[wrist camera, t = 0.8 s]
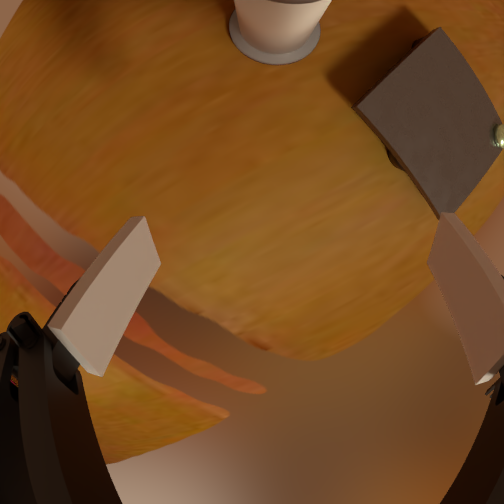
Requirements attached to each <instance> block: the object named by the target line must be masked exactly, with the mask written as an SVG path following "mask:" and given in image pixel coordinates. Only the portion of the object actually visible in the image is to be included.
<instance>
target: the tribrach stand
mask: <svg viewBox="0 0 504 504" xmlns="http://www.w3.org/2000/svg"><path fill="white" fill-rule="evenodd" d="M351 108H352V109H353V110H354V111H355V112H356V113H357V114H358V115H359V116H360V117H361V118H362V119H363V120H364V121H365V123H366V124H367V125H368V126H369V127H370V128H371V129H372V130H373V132H374V133H375V134H376V135H377V136H378V137H379V138H380V140H381V141H382V142H383V143H384V144H385V146H386V147H387V148H388V157H389V160H390V162H391V163H392V164H393V165H394V166H395V167H396V168H398V169H401V170H404V171H406V173H407V174H408V175H409V177H410V178H411V179H412V181H413V182H414V184H415V185H416V187H417V188H418V189H419V191H420V192H421V194H422V195H423V197H424V198H425V200H426V201H427V203H428V204H429V206H430V208H431V209H432V211H433V212H434V214H435V216H436V217H437V219H438V220H439V219H440V215H441V212H444V213H454V212H455V211H456V210H457V209H458V208H459V206H460V205H461V204H462V203H463V202H464V200H465V199H466V198H467V197H468V195H469V194H470V193H471V192H472V190H473V189H474V188H475V187H476V185H477V184H478V183H479V181H480V180H481V179H482V177H483V176H484V175H485V173H486V172H487V171H488V169H489V168H490V166H491V165H492V164H493V162H494V161H495V159H496V158H497V157H498V155H499V154H500V152H501V151H502V149H504V125H503V124H502V122H501V120H500V118H499V116H498V114H497V112H496V110H495V108H494V106H493V104H492V102H491V100H490V99H489V97H488V95H487V93H486V91H485V90H484V88H483V86H482V85H481V83H480V81H479V80H478V78H477V77H476V75H475V73H474V72H473V70H472V69H471V67H470V66H469V64H468V63H467V61H466V60H465V58H464V57H463V56H462V54H461V53H460V51H459V50H458V49H457V47H456V46H455V45H454V43H453V42H452V41H451V40H450V38H449V37H448V36H447V35H446V33H445V32H444V31H443V30H442V29H441V27H439V28H436V29H434V30H432V31H431V32H430V33H429V34H428V35H427V36H425V37H423V38H420V39H418V40H416V41H414V43H413V45H412V49H411V50H410V51H409V52H408V53H407V54H406V55H405V56H404V57H403V58H402V59H401V60H400V61H399V62H398V63H397V64H396V65H394V66H393V67H392V68H391V69H390V70H389V71H388V72H387V73H386V74H385V75H384V76H383V77H382V78H381V79H380V80H379V81H378V82H377V83H376V84H375V85H374V86H373V87H372V88H371V89H370V90H369V91H368V92H367V93H365V94H364V95H363V96H362V97H361V98H360V99H359V100H358V101H357V102H356V103H355V104H354V105H353V106H352V107H351Z"/></svg>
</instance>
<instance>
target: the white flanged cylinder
mask: <svg viewBox="0 0 504 504" xmlns="http://www.w3.org/2000/svg"><path fill="white" fill-rule="evenodd" d="M331 1H332V0H234V3H235V8H236V9H235V10H234V12H233V13H232V15H231V18H230V22H229V30H230V35H231V38H232V40H233V42H234V44H235V46H236V47H237V48H238V49H239V50H240V51H241V52H242V53H243V54H244V55H245V56H247V57H249V58H250V59H252V60H254V61H257V62H260V63H264V64H269V65H286V64H291V63H294V62H297V61H299V60H301V59H303V58H305V57H306V56H307V55H308V54H310V52H311V51H312V50H313V49H314V48H315V46H316V45H317V43H318V41H319V37H320V24H319V20H320V18H321V17H322V15H323V13H324V12H325V10H326V9H327V7H328V5H329V4H330V2H331Z"/></svg>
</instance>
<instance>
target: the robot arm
mask: <svg viewBox="0 0 504 504" xmlns="http://www.w3.org/2000/svg"><path fill="white" fill-rule="evenodd" d="M427 264H428V266H429V268H430V270H431V272H432V274H433V276H434V278H435V280H436V282H437V284H438V286H439V288H440V290H441V293H442V295H443V297H444V299H445V301H446V304H447V306H448V308H449V311H450V313H451V316H452V318H453V320H454V323H455V326H456V328H457V331H458V333H459V336H460V338H461V341H462V344H463V347H464V350H465V353H466V356H467V359H468V362H469V365H470V368H471V372H472V375H473V379H474V382H475V385H476V384H480V383H483V382H486V381H489V380H491V378H492V377H493V376H494V375H495V374H496V373H497V372H498V371H499V373H500V378H499V379H498V380H497V381H496V382H495V383H494V384H493V385H492V386H491V387H490V388H489V389H488V390H487V392H486V393H485V395H488V394H489V393H490V392H491V391H492V390H493V389H494V391H493V394H492V395H491V396H490V398H491V401H490V404H489V407H488V410H487V412H486V415H485V418H484V420H483V423H482V425H481V428H480V430H479V433H478V435H477V437H476V439H475V442H474V444H473V446H472V448H471V450H470V452H469V454H468V456H467V458H466V460H465V463H464V464H463V466H462V468H461V470H460V472H459V473H458V475H457V477H456V479H455V480H454V482H453V484H452V485H451V487H450V489H449V490H448V492H447V494H446V495H445V497H444V498H443V500H442V501H441V503H440V504H504V277H503V276H502V275H500V273H499V271H498V270H497V268H496V267H495V265H494V264H493V262H492V261H491V260H490V258H489V257H488V255H487V254H486V253H485V251H484V250H483V248H482V247H481V246H480V244H479V243H478V242H477V240H476V239H475V238H474V236H473V235H472V234H471V233H470V231H469V230H468V229H467V228H466V226H465V225H464V224H463V223H462V222H461V220H460V219H459V218H458V217H457V216H456V214H455V213H444V212H441V215H440V219H439V223H438V227H437V231H436V235H435V238H434V242H433V245H432V248H431V252H430V255H429V258H428V261H427ZM160 265H161V262H160V259H159V257H158V254H157V251H156V248H155V245H154V243H153V240H152V237H151V234H150V231H149V228H148V225H147V222H146V219H145V216H138V217H131V218H130V219H129V220H128V221H127V222H126V223H125V225H124V226H123V227H122V228H121V229H120V230H119V231H118V233H117V234H116V235H115V236H114V237H113V238H112V240H111V241H110V242H109V243H108V244H107V245H106V247H105V248H104V249H103V250H102V252H101V253H100V254H99V255H98V257H97V258H96V259H95V260H94V261H93V263H92V264H91V265H90V267H89V268H88V269H87V270H86V272H85V273H84V274H83V276H82V277H81V278H80V279H79V280H77V281H76V282H75V283H74V284H73V285H72V287H71V288H70V289H69V291H68V292H67V295H65V296H64V298H63V299H62V302H60V303H59V305H58V306H57V308H56V309H55V311H54V312H53V313H52V315H51V316H50V318H49V319H48V321H47V323H46V324H45V326H44V327H43V328H42V329H41V327H40V326H39V325H38V324H37V322H36V321H35V320H34V318H33V317H32V316H31V314H30V313H29V312H22V313H20V314H18V315H17V316H15V317H14V318H13V320H12V321H11V322H10V324H9V325H8V328H7V331H6V332H3V333H1V334H0V504H122V502H121V500H120V497H119V496H118V493H117V491H116V489H115V486H114V484H113V482H112V479H111V477H110V474H109V472H108V469H107V467H106V464H105V461H104V458H103V456H102V453H101V450H100V447H99V444H98V441H97V438H96V434H95V431H94V427H93V424H92V420H91V417H90V413H89V409H88V405H87V400H86V396H85V391H84V387H83V382H82V376H81V374H80V371H79V370H78V367H79V365H81V366H82V367H83V368H84V369H85V370H86V371H87V372H88V373H91V374H94V375H97V376H100V377H103V375H104V372H105V370H106V368H107V366H108V364H109V362H110V360H111V357H112V355H113V353H114V351H115V349H116V347H117V345H118V343H119V341H120V339H121V337H122V335H123V333H124V331H125V329H126V327H127V325H128V323H129V321H130V319H131V317H132V315H133V314H134V312H135V310H136V308H137V306H138V304H139V302H140V300H141V299H142V297H143V295H144V293H145V291H146V289H147V288H148V286H149V284H150V282H151V280H152V279H153V277H154V275H155V273H156V272H157V270H158V268H159V266H160ZM11 375H13V376H14V377H15V378H16V379H17V380H18V387H17V386H16V385H14V384H13V383H12V382H11V381H10V380H11Z"/></svg>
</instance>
